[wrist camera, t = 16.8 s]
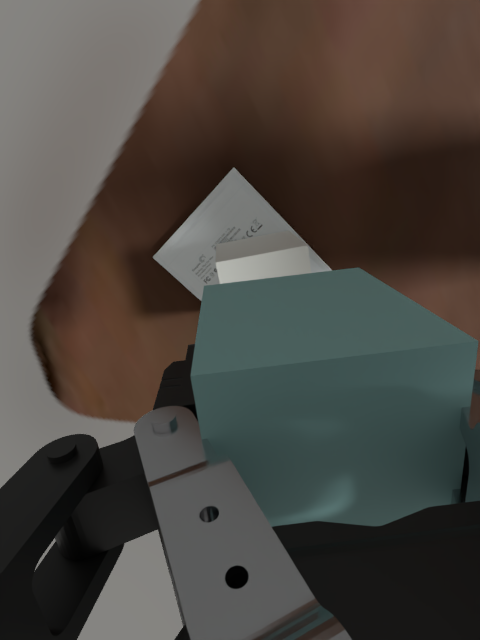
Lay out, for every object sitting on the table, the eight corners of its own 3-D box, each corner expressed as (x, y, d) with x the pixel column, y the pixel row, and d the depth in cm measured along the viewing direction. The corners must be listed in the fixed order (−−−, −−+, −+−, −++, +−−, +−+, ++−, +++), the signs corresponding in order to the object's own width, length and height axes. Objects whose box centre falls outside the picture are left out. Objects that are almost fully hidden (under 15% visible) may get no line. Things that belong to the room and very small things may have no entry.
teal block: (358, 267, 12) (478, 341, 7) (358, 400, 14) (453, 550, 8) (203, 285, 12) (190, 376, 6) (223, 417, 14) (225, 579, 8)
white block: (288, 230, 26) (307, 245, 20) (297, 299, 28) (317, 330, 22) (216, 244, 26) (215, 262, 20) (229, 312, 28) (232, 346, 22)
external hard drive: (272, 359, 31) (154, 254, 27) (349, 289, 29) (233, 167, 26) (275, 368, 29) (150, 258, 26) (356, 295, 28) (234, 166, 24)
